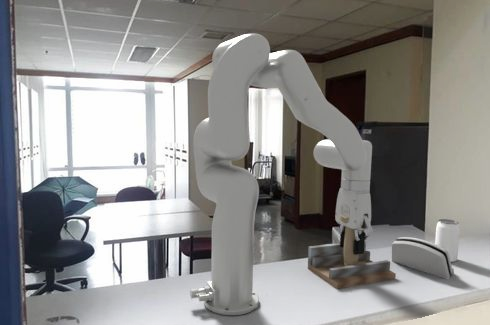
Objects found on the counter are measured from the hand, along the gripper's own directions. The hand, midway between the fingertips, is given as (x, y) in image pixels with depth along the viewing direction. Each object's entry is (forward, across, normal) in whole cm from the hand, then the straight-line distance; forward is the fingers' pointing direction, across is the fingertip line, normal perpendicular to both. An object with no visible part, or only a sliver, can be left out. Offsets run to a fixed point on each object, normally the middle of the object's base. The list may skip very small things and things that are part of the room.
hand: (351, 249), depth 107 cm
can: (+7, 0, +36) cm, 37 cm away
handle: (+6, 0, 0) cm, 6 cm away
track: (+7, 0, 0) cm, 7 cm away
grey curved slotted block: (+7, +3, +22) cm, 23 cm away
